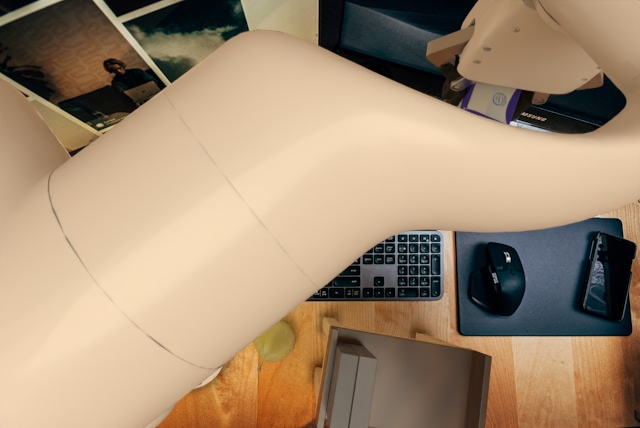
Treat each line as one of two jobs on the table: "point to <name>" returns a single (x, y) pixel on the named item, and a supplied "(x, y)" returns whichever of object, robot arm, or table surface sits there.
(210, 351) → the robot arm
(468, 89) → the box
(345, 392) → the grey book
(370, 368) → the grey book
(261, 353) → the fruit
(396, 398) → the brown shallow tray
